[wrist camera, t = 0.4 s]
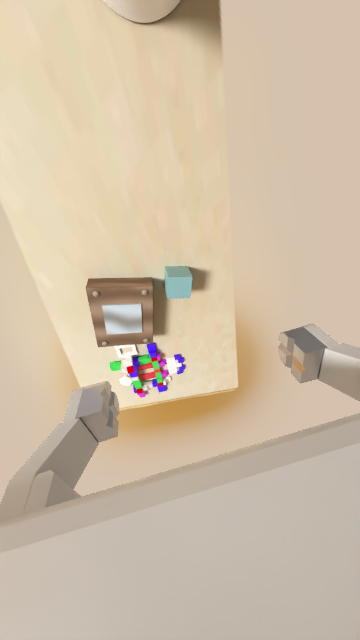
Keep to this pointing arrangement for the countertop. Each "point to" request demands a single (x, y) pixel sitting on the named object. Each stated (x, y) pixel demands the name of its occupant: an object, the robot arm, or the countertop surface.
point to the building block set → (145, 362)
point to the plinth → (121, 310)
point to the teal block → (178, 282)
